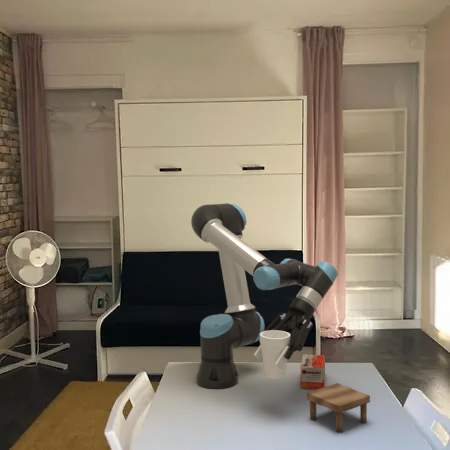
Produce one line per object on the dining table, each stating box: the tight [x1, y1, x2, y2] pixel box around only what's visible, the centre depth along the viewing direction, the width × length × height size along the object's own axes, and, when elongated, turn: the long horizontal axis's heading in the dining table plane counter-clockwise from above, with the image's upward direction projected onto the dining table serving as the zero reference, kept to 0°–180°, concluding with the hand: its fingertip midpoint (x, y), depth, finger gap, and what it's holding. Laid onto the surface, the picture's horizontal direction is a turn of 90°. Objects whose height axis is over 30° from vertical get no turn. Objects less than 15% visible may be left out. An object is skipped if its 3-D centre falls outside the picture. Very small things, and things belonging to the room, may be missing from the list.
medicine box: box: [300, 354, 326, 390], centre depth 193 cm, size 15×8×8 cm, turn 168°
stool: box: [306, 382, 371, 433], centre depth 161 cm, size 13×13×8 cm
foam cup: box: [259, 330, 291, 380], centre depth 167 cm, size 10×9×13 cm
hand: (267, 362), depth 165 cm, fingers closed on foam cup, 9 cm apart
